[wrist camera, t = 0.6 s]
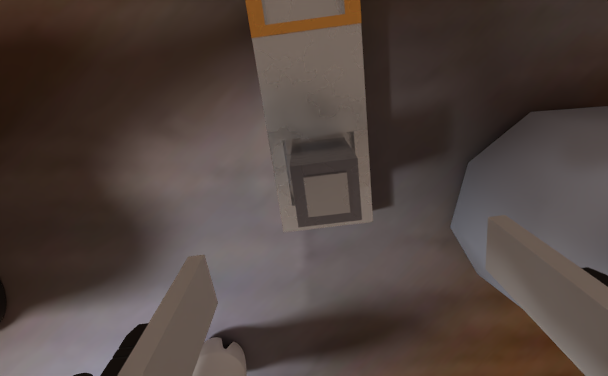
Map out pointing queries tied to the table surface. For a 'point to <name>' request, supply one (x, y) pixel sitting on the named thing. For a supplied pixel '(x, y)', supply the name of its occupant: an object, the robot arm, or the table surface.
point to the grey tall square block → (325, 182)
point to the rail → (311, 86)
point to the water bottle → (220, 359)
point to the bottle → (541, 187)
